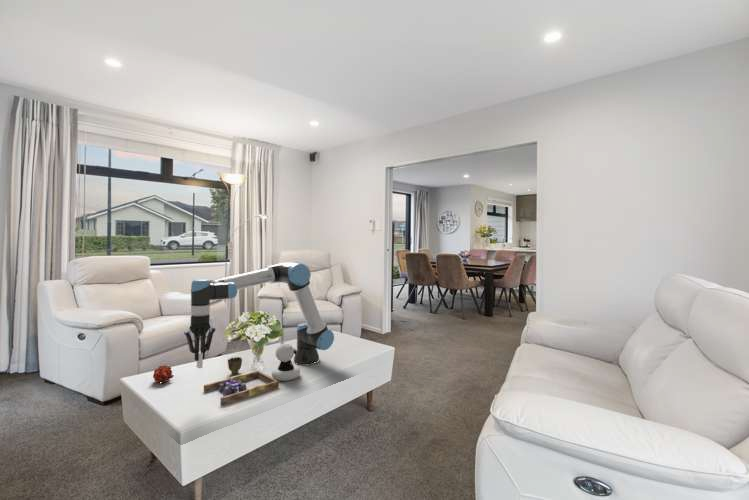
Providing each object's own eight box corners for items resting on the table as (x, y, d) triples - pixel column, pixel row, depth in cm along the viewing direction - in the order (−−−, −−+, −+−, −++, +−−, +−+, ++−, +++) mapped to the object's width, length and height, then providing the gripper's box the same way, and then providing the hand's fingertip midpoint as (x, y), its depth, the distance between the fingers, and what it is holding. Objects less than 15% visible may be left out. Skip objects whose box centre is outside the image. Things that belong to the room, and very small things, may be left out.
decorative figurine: (305, 377, 186) (305, 340, 186) (280, 384, 176) (280, 345, 176) (291, 370, 197) (291, 334, 197) (266, 376, 187) (267, 339, 187)
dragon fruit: (163, 380, 184) (165, 391, 175) (148, 373, 180) (149, 384, 170) (174, 366, 186) (177, 376, 177) (159, 359, 182) (161, 369, 172)
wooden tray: (258, 376, 187) (258, 369, 187) (278, 387, 173) (278, 380, 173) (203, 391, 167) (203, 384, 167) (221, 405, 153) (221, 397, 153)
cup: (225, 373, 191) (225, 358, 191) (238, 370, 196) (238, 355, 196) (230, 376, 186) (231, 361, 186) (244, 373, 191) (244, 358, 191)
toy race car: (235, 385, 176) (235, 372, 176) (246, 394, 165) (246, 380, 165) (215, 390, 170) (215, 376, 170) (226, 400, 159) (226, 386, 159)
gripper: (211, 311, 163) (211, 361, 163) (181, 315, 154) (180, 368, 154) (218, 313, 158) (217, 365, 158) (187, 317, 148) (186, 373, 149)
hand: (199, 367), depth 156 cm, fingers closed
